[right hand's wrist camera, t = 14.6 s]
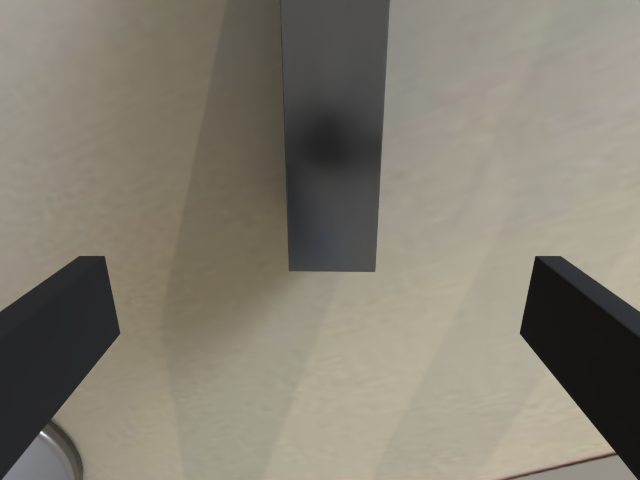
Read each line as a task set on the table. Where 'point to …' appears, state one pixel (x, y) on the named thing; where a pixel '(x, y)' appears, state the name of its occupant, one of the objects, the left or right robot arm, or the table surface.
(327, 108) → the bar
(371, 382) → the table surface
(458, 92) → the table surface
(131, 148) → the table surface
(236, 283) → the table surface
